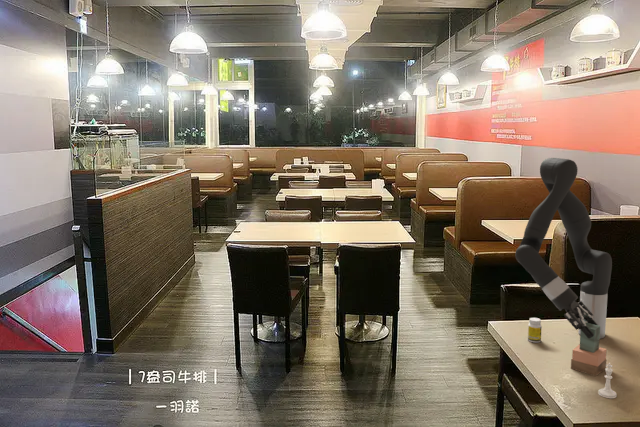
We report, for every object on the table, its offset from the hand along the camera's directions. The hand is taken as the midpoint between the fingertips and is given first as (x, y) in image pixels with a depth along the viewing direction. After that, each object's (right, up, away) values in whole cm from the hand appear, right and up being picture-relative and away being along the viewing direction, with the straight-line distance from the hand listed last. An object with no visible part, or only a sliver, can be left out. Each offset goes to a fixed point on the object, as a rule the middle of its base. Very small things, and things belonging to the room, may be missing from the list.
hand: (594, 333), depth 179 cm
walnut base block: (-1, -13, +3) cm, 13 cm away
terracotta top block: (-1, -9, +2) cm, 9 cm away
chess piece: (-4, -15, -15) cm, 22 cm away
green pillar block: (-1, -6, +2) cm, 6 cm away
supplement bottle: (-9, -9, +27) cm, 30 cm away
